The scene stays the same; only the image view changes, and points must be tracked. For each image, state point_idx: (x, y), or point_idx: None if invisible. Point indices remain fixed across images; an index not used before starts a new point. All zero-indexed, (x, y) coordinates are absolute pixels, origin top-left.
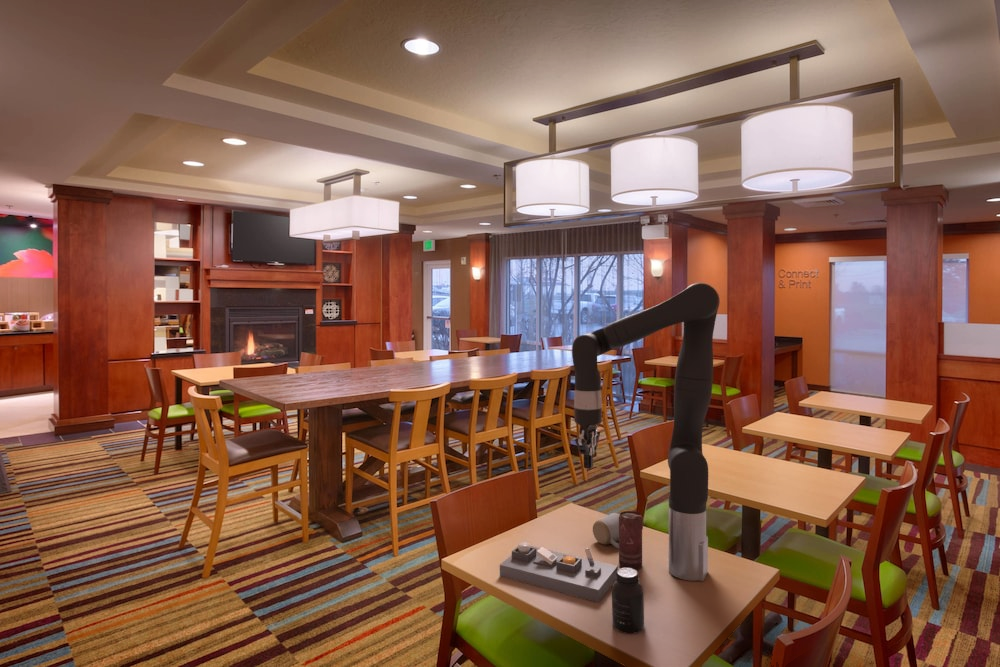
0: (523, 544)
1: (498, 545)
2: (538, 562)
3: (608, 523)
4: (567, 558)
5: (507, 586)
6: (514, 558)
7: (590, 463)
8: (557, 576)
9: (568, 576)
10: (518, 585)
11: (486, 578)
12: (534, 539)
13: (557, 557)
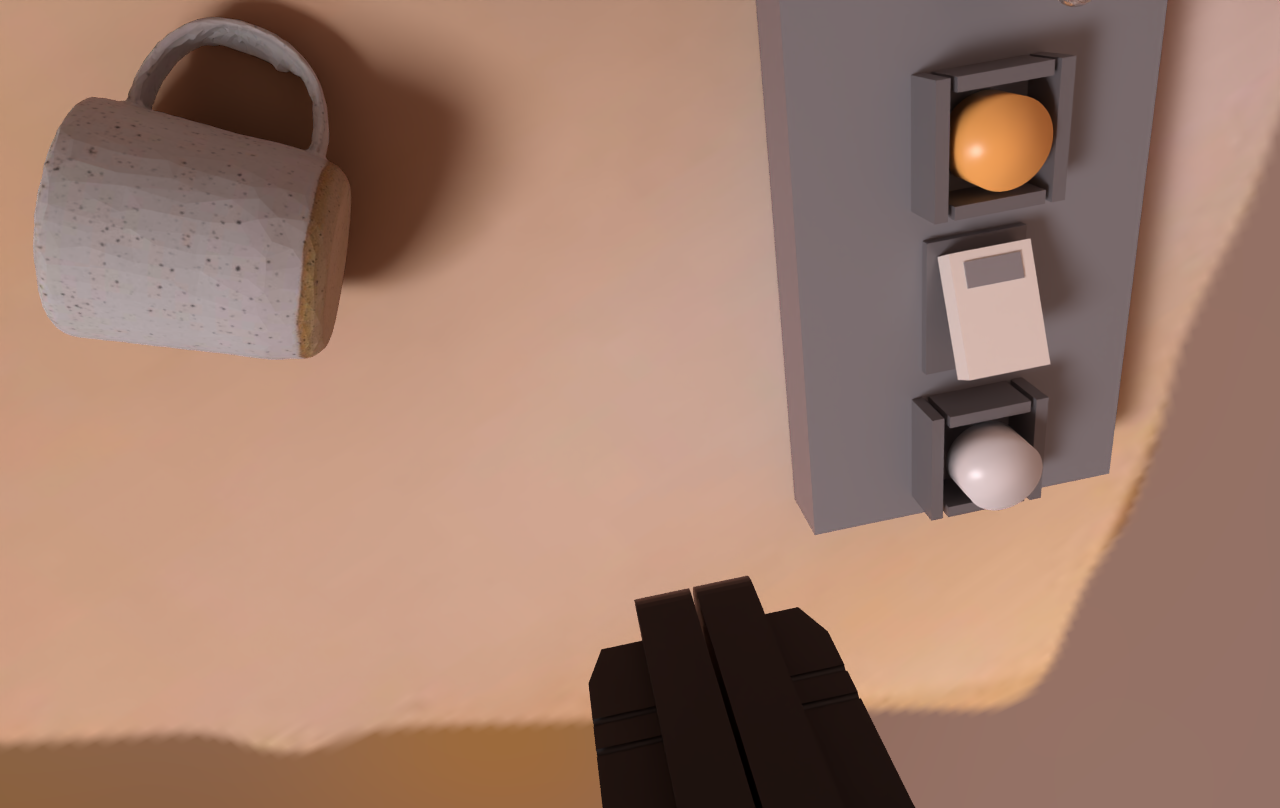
0: (999, 483)
1: None
2: None
3: (272, 225)
4: (1009, 156)
5: (1153, 346)
6: None
7: (779, 657)
8: (1116, 127)
9: (1090, 65)
10: None
11: (1117, 471)
12: (584, 584)
13: (946, 255)
